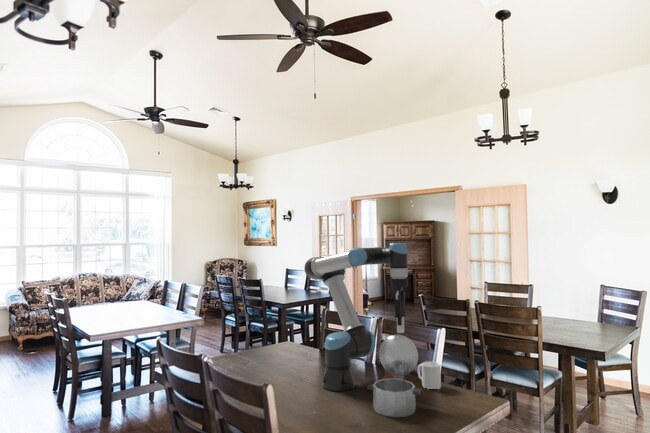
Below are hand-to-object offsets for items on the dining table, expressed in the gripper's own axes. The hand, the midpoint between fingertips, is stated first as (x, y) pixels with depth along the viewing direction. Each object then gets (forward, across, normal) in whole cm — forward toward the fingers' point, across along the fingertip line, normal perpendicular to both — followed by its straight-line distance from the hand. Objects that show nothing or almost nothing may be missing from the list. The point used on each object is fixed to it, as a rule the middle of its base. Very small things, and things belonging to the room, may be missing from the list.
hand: (400, 332), depth 180 cm
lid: (+9, -7, 0) cm, 11 cm away
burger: (+27, +10, +6) cm, 29 cm away
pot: (+26, -16, 0) cm, 31 cm away
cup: (+27, +14, -9) cm, 32 cm away
